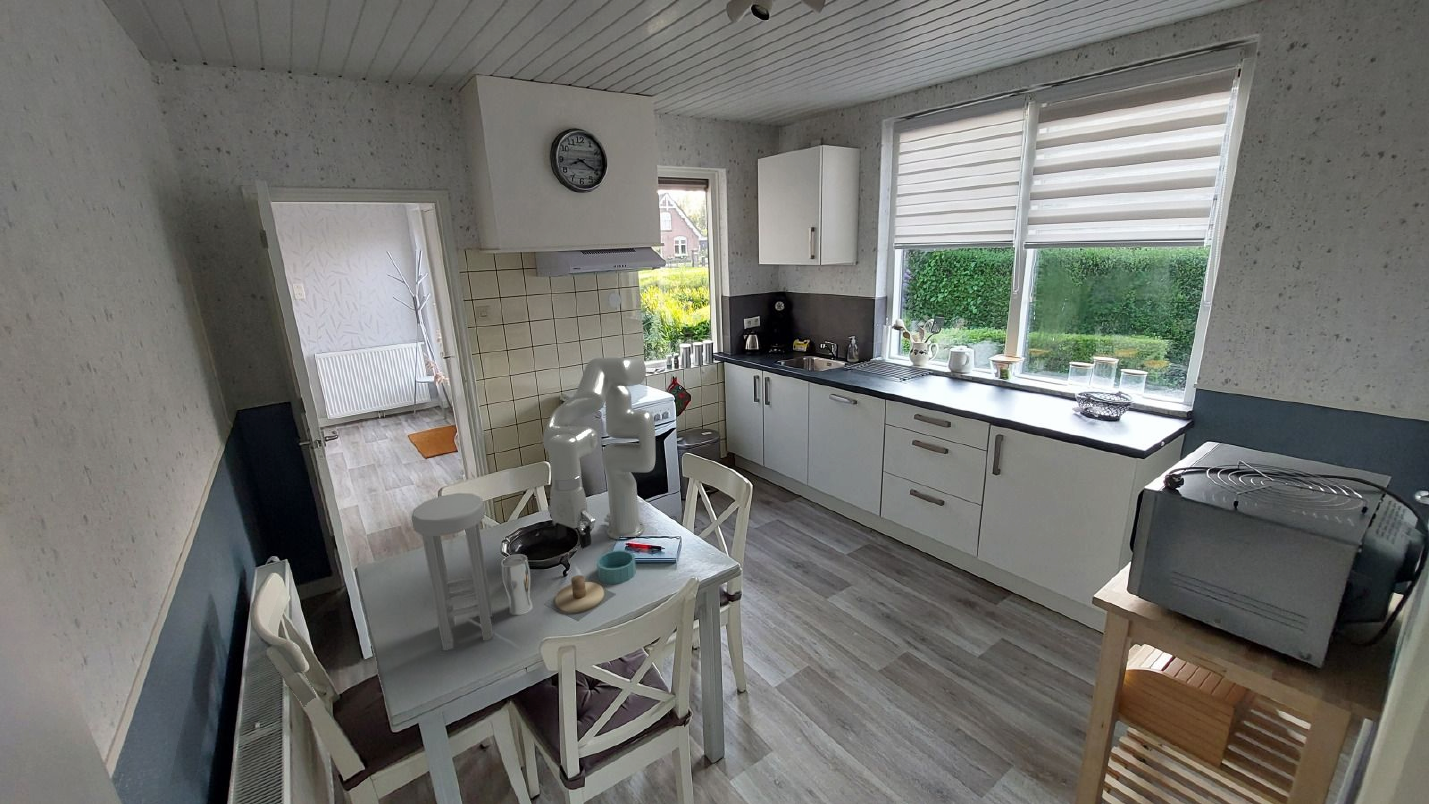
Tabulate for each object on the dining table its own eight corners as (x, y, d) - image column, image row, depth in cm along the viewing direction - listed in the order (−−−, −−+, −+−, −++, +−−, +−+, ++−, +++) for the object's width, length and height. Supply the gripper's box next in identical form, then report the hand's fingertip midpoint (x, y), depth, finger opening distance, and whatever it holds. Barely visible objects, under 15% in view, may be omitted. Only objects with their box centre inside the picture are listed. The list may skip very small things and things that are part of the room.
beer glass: (527, 599, 161) (520, 550, 158) (539, 609, 157) (532, 559, 153) (503, 610, 157) (495, 560, 153) (515, 621, 152) (507, 570, 148)
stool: (501, 641, 144) (481, 512, 135) (433, 658, 139) (407, 525, 130) (500, 607, 158) (482, 488, 149) (438, 621, 153) (415, 499, 144)
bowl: (590, 578, 171) (589, 563, 169) (617, 561, 179) (615, 546, 178) (617, 589, 164) (616, 573, 163) (643, 571, 173) (642, 556, 172)
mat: (543, 605, 158) (543, 603, 158) (581, 581, 169) (581, 579, 169) (578, 622, 150) (578, 620, 150) (616, 596, 161) (616, 594, 161)
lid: (545, 603, 158) (542, 583, 157) (581, 580, 168) (579, 561, 167) (578, 619, 151) (575, 598, 149) (613, 594, 161) (611, 574, 159)
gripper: (533, 480, 153) (541, 539, 157) (578, 493, 143) (585, 556, 147) (556, 471, 159) (562, 528, 163) (601, 483, 149) (606, 544, 153)
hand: (573, 541), depth 155 cm, fingers open, 9 cm apart
